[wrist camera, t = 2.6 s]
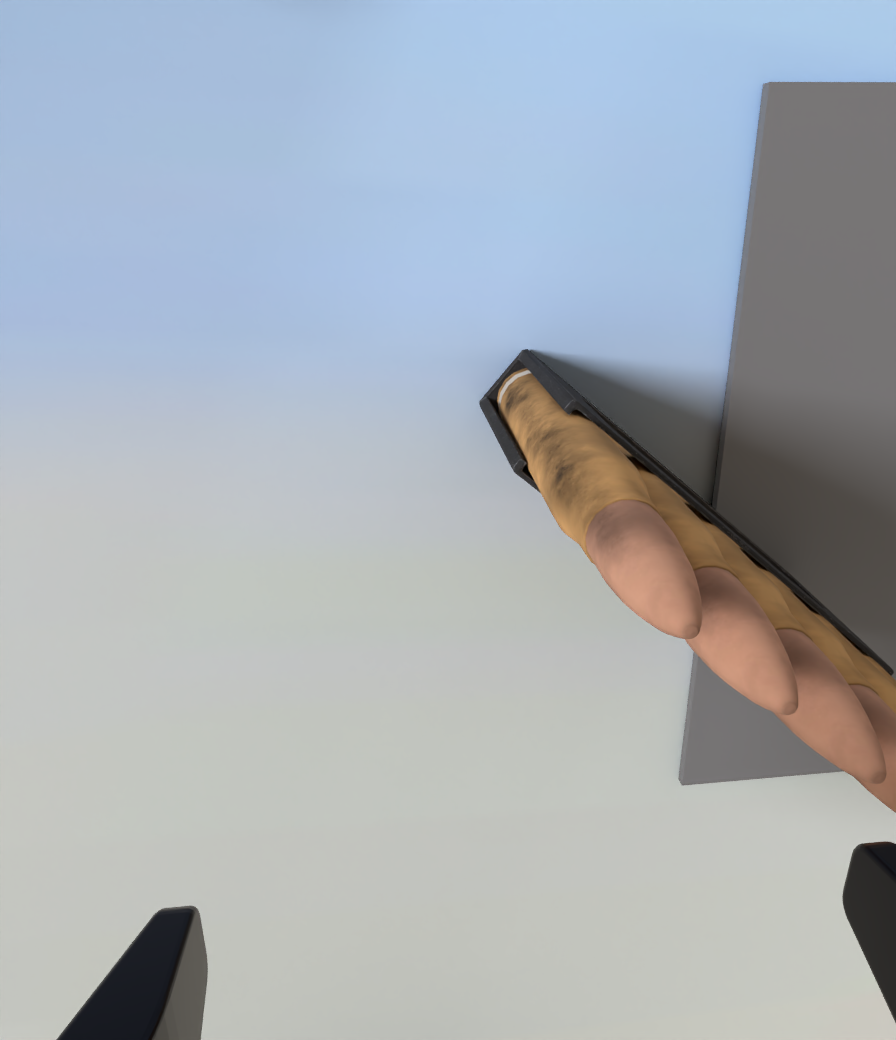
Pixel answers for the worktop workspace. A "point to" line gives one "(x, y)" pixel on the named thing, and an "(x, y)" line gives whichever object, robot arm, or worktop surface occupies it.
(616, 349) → the worktop surface
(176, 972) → the robot arm
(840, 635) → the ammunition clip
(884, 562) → the rubber mat
